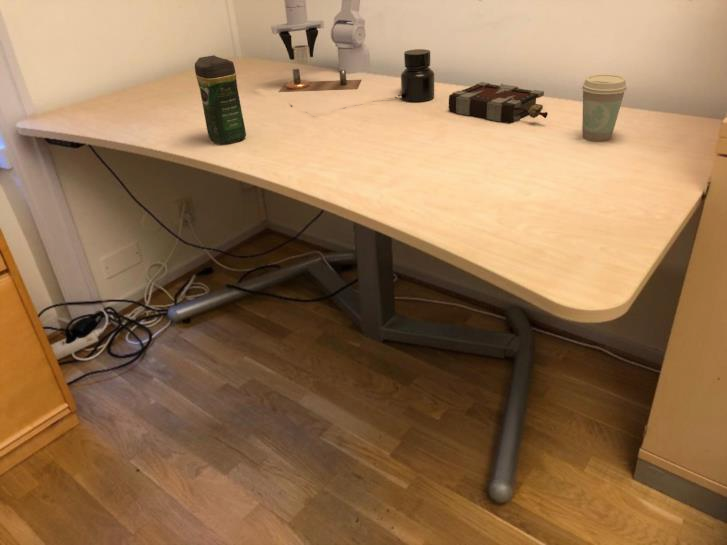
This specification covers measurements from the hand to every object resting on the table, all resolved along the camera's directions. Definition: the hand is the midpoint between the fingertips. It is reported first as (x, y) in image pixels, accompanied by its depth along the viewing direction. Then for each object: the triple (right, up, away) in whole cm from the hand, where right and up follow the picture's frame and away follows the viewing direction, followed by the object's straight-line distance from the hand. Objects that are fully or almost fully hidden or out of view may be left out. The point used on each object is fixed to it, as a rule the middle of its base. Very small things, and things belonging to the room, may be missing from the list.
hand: (301, 57), depth 167 cm
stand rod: (+12, -7, +3) cm, 14 cm away
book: (+53, -23, -25) cm, 62 cm away
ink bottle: (+33, -14, -9) cm, 37 cm away
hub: (-1, -7, +4) cm, 8 cm away
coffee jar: (-14, -30, -28) cm, 43 cm away
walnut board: (+5, -8, +4) cm, 11 cm away
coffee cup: (+67, -33, -43) cm, 86 cm away
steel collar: (0, -1, 0) cm, 1 cm away
